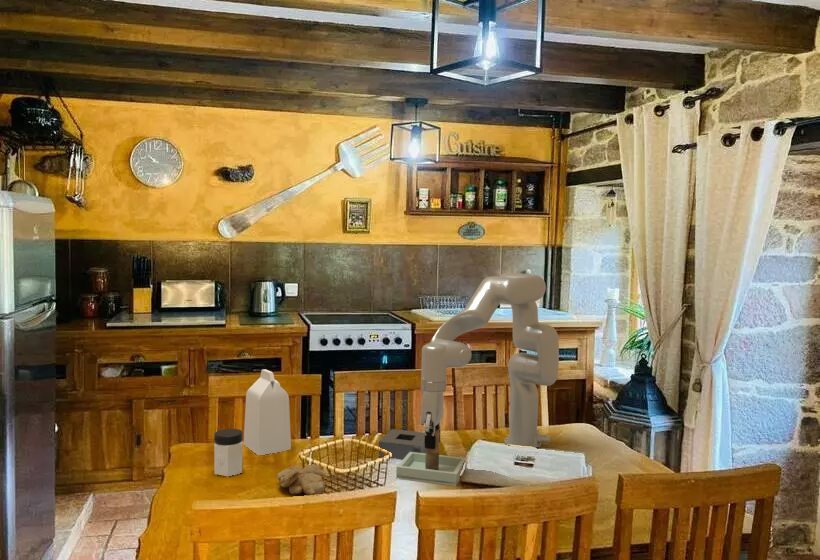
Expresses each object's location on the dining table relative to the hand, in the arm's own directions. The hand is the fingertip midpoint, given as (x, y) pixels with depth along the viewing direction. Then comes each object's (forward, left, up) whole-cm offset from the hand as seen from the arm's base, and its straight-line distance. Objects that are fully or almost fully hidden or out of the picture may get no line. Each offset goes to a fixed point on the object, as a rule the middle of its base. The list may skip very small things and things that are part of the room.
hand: (432, 444), depth 197 cm
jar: (+58, +18, -9) cm, 61 cm away
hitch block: (+13, -16, -9) cm, 22 cm away
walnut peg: (0, 0, -8) cm, 8 cm away
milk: (+58, -5, -9) cm, 58 cm away
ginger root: (+32, +23, -9) cm, 40 cm away
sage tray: (0, 0, -9) cm, 9 cm away
